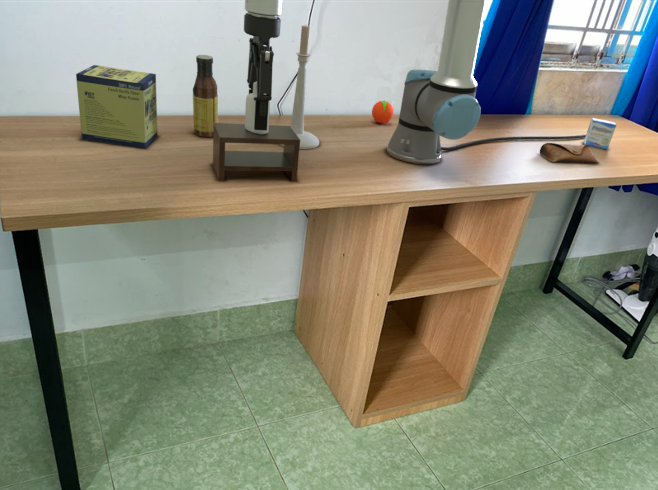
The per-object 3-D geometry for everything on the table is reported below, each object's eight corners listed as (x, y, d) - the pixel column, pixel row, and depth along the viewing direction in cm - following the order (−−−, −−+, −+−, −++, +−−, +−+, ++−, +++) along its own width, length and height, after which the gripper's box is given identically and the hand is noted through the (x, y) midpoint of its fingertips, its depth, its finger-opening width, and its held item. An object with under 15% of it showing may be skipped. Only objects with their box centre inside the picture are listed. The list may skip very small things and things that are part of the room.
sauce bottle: (207, 129, 167) (208, 52, 157) (222, 136, 164) (224, 58, 154) (187, 132, 163) (187, 54, 152) (203, 139, 160) (203, 60, 149)
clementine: (392, 128, 194) (396, 105, 190) (370, 125, 193) (374, 102, 189) (390, 121, 200) (394, 99, 197) (369, 118, 200) (373, 96, 196)
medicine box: (584, 145, 210) (592, 120, 205) (583, 141, 213) (591, 117, 209) (607, 150, 209) (616, 125, 204) (606, 146, 212) (615, 121, 208)
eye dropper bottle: (260, 127, 143) (263, 73, 137) (270, 135, 139) (273, 80, 133) (243, 127, 141) (245, 73, 135) (251, 135, 137) (254, 80, 131)
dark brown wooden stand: (286, 165, 152) (290, 126, 147) (296, 181, 145) (300, 139, 139) (212, 164, 146) (213, 122, 141) (218, 180, 138) (219, 137, 133)
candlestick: (266, 143, 165) (273, 22, 149) (280, 130, 175) (288, 17, 160) (312, 152, 164) (325, 31, 148) (323, 139, 175) (335, 25, 159)
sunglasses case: (554, 162, 186) (553, 139, 186) (539, 166, 192) (539, 144, 192) (601, 163, 192) (601, 141, 192) (586, 167, 199) (585, 146, 198)
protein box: (146, 149, 148) (143, 83, 140) (80, 140, 147) (74, 73, 139) (159, 136, 157) (157, 73, 149) (97, 127, 156) (91, 63, 148)
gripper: (236, 4, 134) (233, 110, 146) (253, 21, 118) (248, 138, 130) (270, 8, 136) (264, 111, 148) (291, 25, 121) (283, 139, 133)
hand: (257, 123), depth 139 cm, fingers open, 7 cm apart
